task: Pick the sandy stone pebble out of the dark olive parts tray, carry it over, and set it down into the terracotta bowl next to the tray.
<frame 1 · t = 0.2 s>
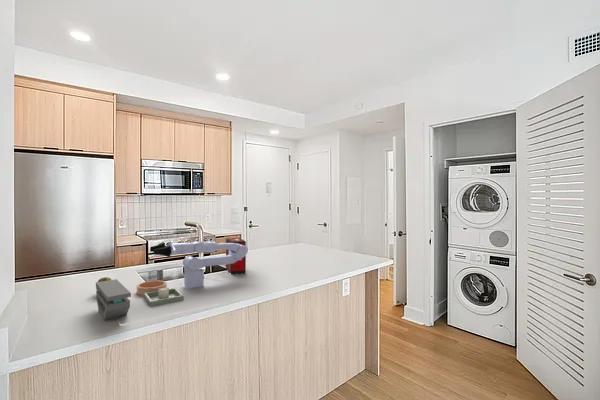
hand: (152, 250, 151), 21 cm above the countertop, tool horizontal, fingers open, 7 cm apart
bowl: (151, 292, 154), on the countertop
cleaning product box: (235, 271, 198), on the countertop
potato: (105, 295, 149), on the countertop
pebble: (163, 298, 143), point 1 cm above the countertop, touching parts tray
parts tray: (163, 299, 143), on the countertop
grey storage case: (112, 314, 127), on the countertop
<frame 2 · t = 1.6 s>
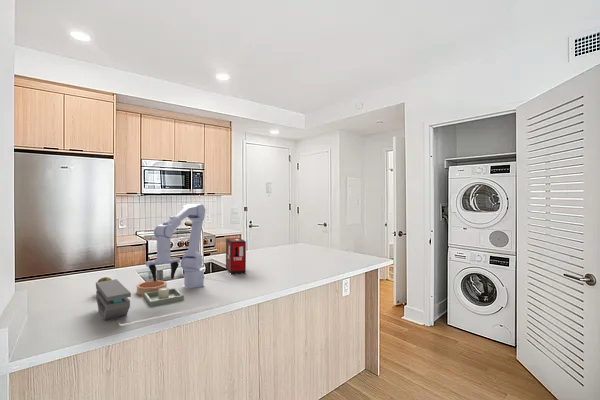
hand: (163, 279, 143), 9 cm above the countertop, tool pointing down, fingers open, 7 cm apart
nothing on the countertop moved.
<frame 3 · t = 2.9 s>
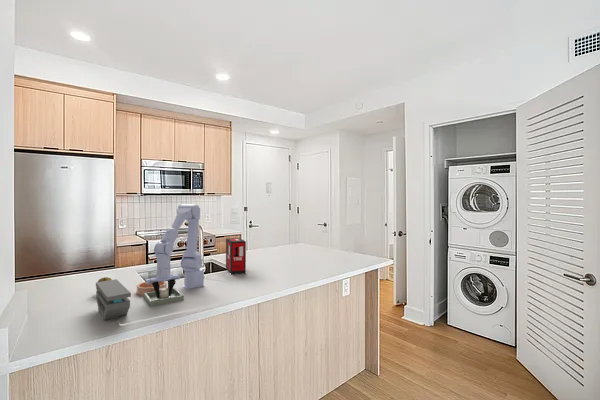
hand: (163, 296, 143), 1 cm above the countertop, tool pointing down, fingers closed on pebble, 4 cm apart
pebble: (163, 298, 143), point 1 cm above the countertop, touching gripper, parts tray
everything else where it was.
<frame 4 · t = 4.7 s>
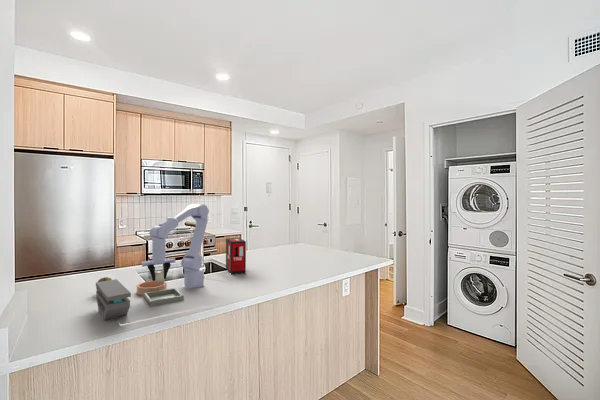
hand: (159, 279, 147), 8 cm above the countertop, tool pointing down, fingers closed on pebble, 4 cm apart
pebble: (159, 281, 147), point 8 cm above the countertop, touching gripper
everything else where it was.
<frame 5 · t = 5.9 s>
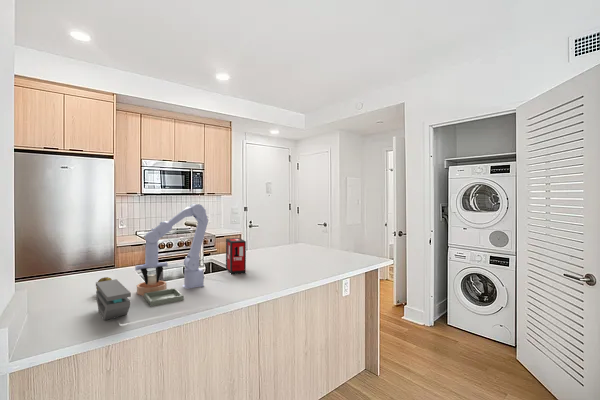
hand: (151, 282, 154), 5 cm above the countertop, tool pointing down, fingers closed on pebble, 4 cm apart
pebble: (151, 284, 154), point 4 cm above the countertop, touching gripper
everything else where it was.
when the fingers open (4 cm above the countertop, at t = 6.5 s): pebble drops 2 cm, resting on bowl.
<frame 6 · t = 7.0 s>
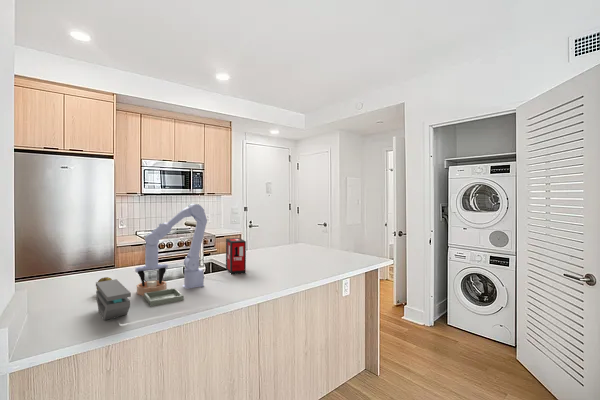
hand: (151, 284, 154), 4 cm above the countertop, tool pointing down, fingers open, 7 cm apart
pebble: (151, 290, 154), point 1 cm above the countertop, touching bowl
everything else where it was.
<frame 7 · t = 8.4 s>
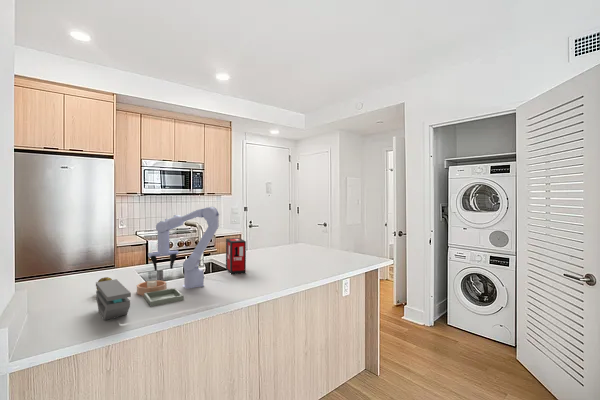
hand: (163, 269, 163), 9 cm above the countertop, tool pointing down, fingers open, 7 cm apart
nothing on the countertop moved.
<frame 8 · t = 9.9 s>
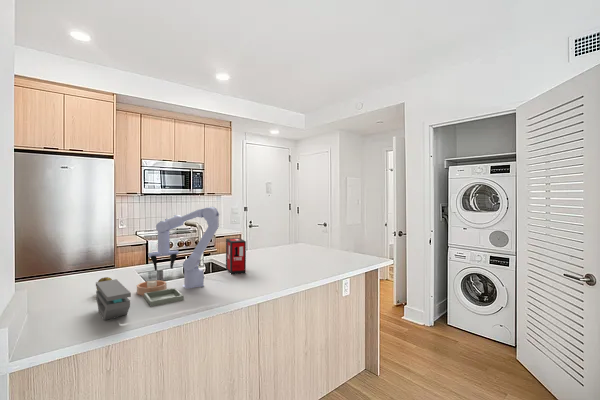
hand: (163, 269, 163), 9 cm above the countertop, tool pointing down, fingers open, 7 cm apart
nothing on the countertop moved.
at the end: pebble inside the target area on the bowl (0.1 cm from its centre), point 0.8 cm above the bowl's base; the gripper is holding nothing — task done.
